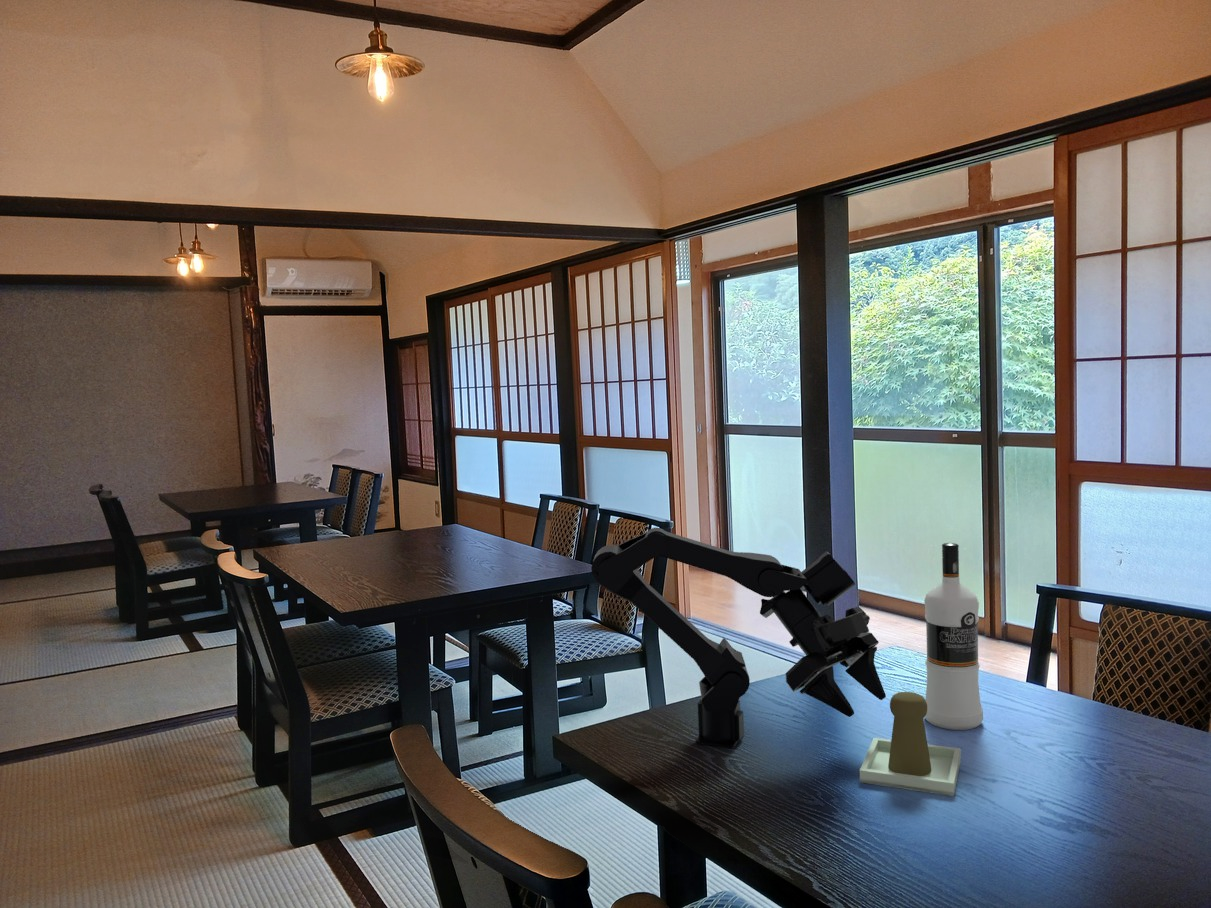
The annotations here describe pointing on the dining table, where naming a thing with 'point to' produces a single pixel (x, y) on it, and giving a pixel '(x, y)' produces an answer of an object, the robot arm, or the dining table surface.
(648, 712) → the dining table surface
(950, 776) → the tray
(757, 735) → the dining table surface
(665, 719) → the dining table surface
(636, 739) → the dining table surface
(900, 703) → the cork
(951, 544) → the vodka
